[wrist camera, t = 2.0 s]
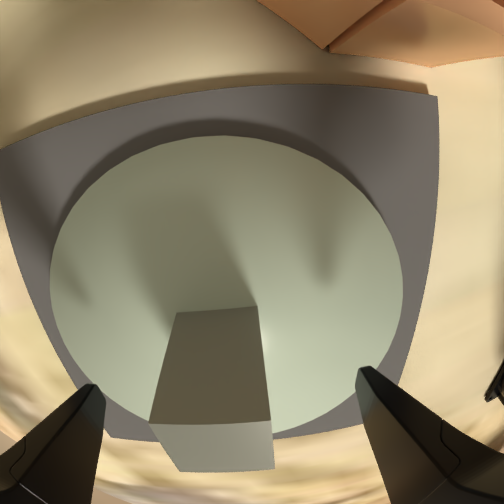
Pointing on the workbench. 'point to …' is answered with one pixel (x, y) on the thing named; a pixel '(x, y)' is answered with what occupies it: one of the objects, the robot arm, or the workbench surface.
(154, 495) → the workbench surface
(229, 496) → the workbench surface
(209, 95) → the mat
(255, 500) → the workbench surface
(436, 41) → the bowl
